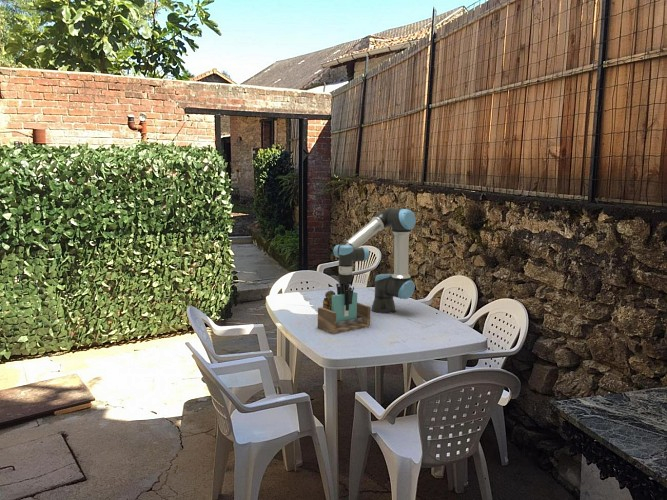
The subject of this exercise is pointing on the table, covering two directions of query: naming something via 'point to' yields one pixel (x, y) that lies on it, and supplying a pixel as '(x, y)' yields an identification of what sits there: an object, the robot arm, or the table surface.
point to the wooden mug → (328, 300)
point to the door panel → (338, 307)
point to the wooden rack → (330, 325)
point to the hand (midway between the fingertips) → (344, 315)
